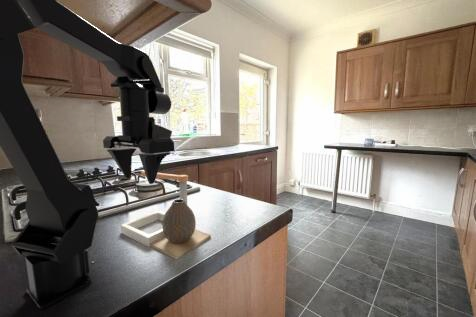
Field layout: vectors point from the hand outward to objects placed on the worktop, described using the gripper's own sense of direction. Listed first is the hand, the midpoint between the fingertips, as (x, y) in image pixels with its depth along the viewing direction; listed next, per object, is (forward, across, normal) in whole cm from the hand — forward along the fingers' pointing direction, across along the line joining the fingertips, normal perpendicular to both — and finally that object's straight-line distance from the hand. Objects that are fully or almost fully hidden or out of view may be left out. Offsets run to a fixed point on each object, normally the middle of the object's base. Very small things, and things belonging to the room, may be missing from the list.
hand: (139, 180), depth 50 cm
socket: (+13, -2, -5) cm, 13 cm away
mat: (+12, -10, -2) cm, 16 cm away
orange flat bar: (+2, +4, -10) cm, 11 cm away
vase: (+12, -11, -2) cm, 17 cm away
